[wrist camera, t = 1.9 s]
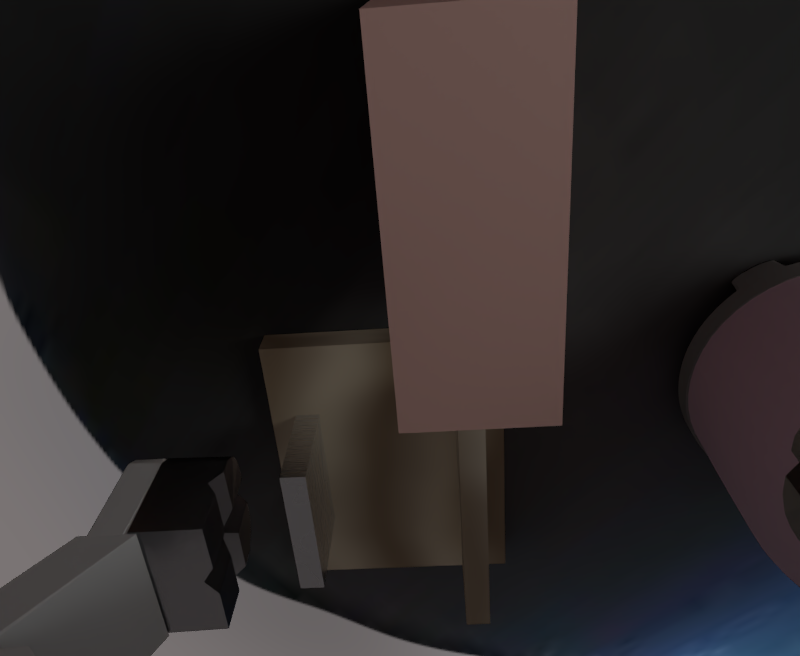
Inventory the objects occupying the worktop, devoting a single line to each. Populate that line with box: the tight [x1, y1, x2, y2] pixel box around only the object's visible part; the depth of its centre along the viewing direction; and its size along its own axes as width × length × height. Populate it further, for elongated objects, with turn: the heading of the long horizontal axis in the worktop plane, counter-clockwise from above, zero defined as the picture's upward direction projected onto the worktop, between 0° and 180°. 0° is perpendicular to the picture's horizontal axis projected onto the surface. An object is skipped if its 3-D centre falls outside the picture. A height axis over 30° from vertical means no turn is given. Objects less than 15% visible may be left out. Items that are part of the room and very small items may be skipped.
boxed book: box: [359, 0, 577, 434], centre depth 25 cm, size 5×12×14 cm, turn 4°
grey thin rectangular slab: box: [279, 414, 335, 588], centre depth 36 cm, size 1×7×5 cm, turn 4°
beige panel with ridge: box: [259, 328, 505, 624], centre depth 36 cm, size 12×15×6 cm
